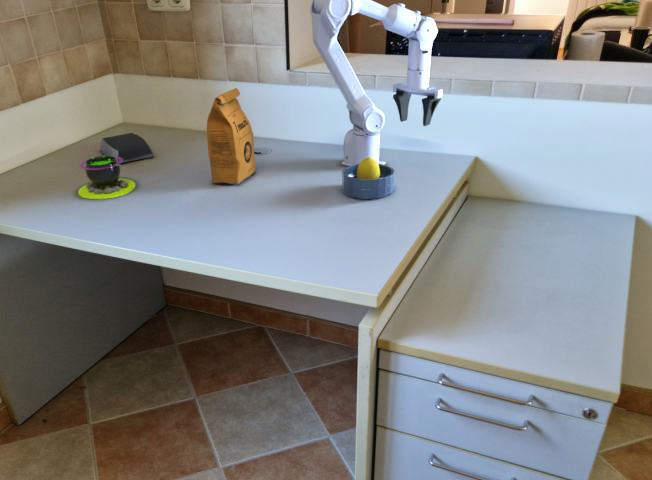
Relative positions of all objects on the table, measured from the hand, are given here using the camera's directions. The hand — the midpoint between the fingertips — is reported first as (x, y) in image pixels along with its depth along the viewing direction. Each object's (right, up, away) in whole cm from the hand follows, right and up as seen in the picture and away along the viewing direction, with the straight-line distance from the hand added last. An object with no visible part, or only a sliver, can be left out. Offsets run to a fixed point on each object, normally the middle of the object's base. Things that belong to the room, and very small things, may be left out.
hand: (414, 122), depth 162 cm
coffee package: (-49, -16, -1) cm, 51 cm away
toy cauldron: (-83, -19, -3) cm, 85 cm away
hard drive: (-84, -1, +23) cm, 87 cm away
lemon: (-15, -22, -15) cm, 30 cm away
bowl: (-15, -22, -14) cm, 30 cm away
